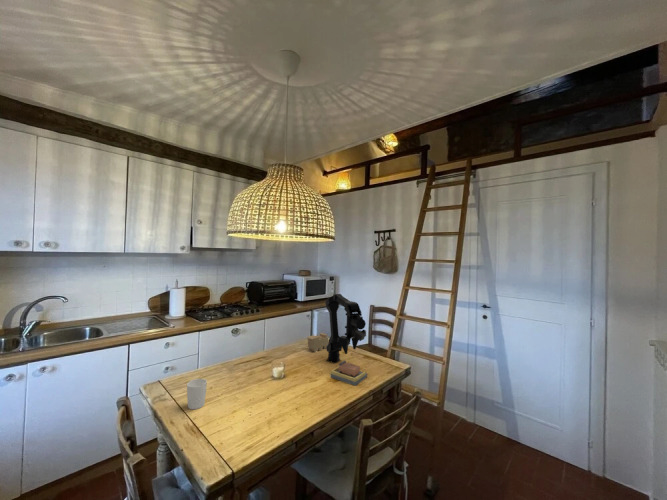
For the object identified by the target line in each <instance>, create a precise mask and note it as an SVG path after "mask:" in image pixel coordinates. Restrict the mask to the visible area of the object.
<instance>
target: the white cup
mask: <svg viewBox="0 0 667 500" xmlns="http://www.w3.org/2000/svg"><path fill="white" fill-rule="evenodd" d="M207 383H208V380H207V379H205V378H195V379H191V380H189V381H188V382H187V384H186V395H187V396H186V398H187V400H186V401H187V408H188V409H190V410H197V409H201V408H202V407H204V406H205V402H206V401H205V400H206V394H207V386H208V385H207Z"/></svg>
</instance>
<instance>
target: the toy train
mask: <svg viewBox="0 0 667 500" xmlns="http://www.w3.org/2000/svg"><path fill="white" fill-rule="evenodd" d="M306 339H307V347H308V350H309V351H312V352H314V353H317V352H318V351H322V350H323V349H326V347H327V345H328V344H329V337H328V333H323V332H320V334H319V335H314V334H313V335H310V336H309V335H308V336H307V337H306ZM316 351H317V352H316Z"/></svg>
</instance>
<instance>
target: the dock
mask: <svg viewBox="0 0 667 500" xmlns="http://www.w3.org/2000/svg"><path fill="white" fill-rule="evenodd" d="M330 378H331V379H335V380H338V381H340V382H343V383H346V384H349V385H352V386H354V387H356V386H357V385H359V384H360V383H362V381H363V380H365V379H367V378H368V373H367V371H360V373H359V374H357V375H356V376H353V377H351V376H350V375H348V374H345V373H342V374H341V373H340V372H339V365H338V366H336V367H335V368H334V369H331V370H330Z"/></svg>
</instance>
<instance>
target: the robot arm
mask: <svg viewBox="0 0 667 500" xmlns="http://www.w3.org/2000/svg"><path fill="white" fill-rule="evenodd" d="M324 303H325V308H326V310H327V311H328V312H329V313H328V314H329V324H330V325H329V328H330V337H329V338H328V341H329V344H328V345H327V347H326V348H325V350H326V352H327V353H328V355H327V356H328V358H327V359H326V361H327V362H331V363H333V364H335V363H337V362H340V361H341V359H340V352H342V350H343V352H344V354H345V355H347V354H348V350H349V345H351V343H352V348H353V350H356V349H357V346H358V343H359V342H361V341H363V340H364V339H365V337H367V330H365V329H364V328H366V320H364V319H363V318H364V317H363V316H362V315H363V314H362V310H361V308H360V305H359V304H358V302H356V301H351V300H349V299H348V298H347V297H345V296H343V295H342V294H341V293H334V294H333V295H332V296H330V297H327V299H326V300H325V302H324ZM340 305H341V306H342V307H343V308H344V311H345V316H346V324H345V326H344V329H346V330H345V333H344V335H339V334H340V333H339V325H338V324H339V323H338V310H339V308H340Z"/></svg>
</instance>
